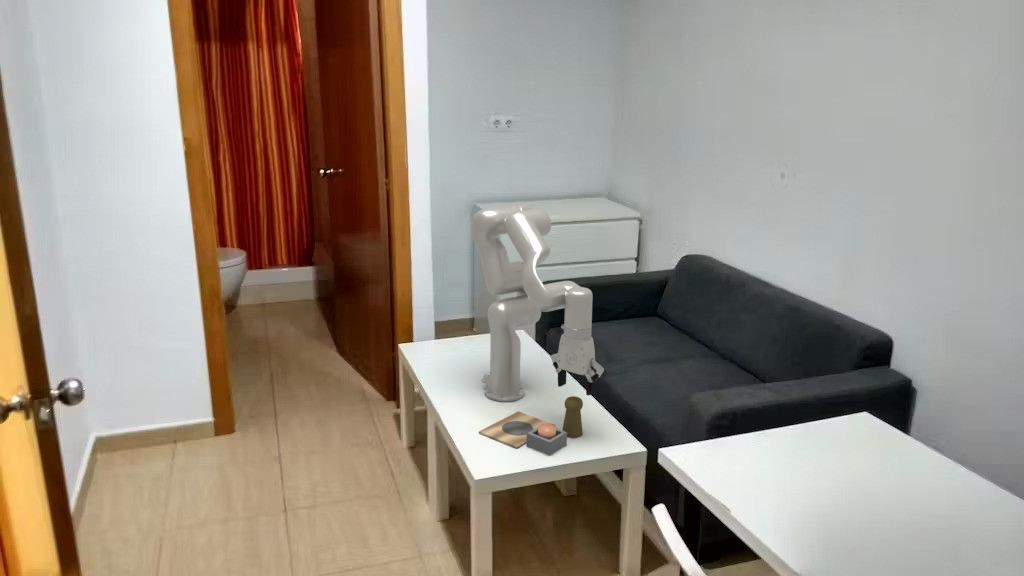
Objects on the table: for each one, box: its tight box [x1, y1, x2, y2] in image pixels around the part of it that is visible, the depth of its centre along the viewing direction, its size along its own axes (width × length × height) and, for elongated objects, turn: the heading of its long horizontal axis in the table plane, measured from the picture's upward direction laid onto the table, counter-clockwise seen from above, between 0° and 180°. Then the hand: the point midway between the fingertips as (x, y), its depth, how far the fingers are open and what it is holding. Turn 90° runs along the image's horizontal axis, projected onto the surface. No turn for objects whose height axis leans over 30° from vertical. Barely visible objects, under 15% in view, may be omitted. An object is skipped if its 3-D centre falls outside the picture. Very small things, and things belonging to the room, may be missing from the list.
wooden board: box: [478, 410, 556, 450], centre depth 226 cm, size 14×18×1 cm
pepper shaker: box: [561, 395, 584, 439], centre depth 224 cm, size 6×6×11 cm
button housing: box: [525, 427, 568, 456], centre depth 217 cm, size 8×8×4 cm
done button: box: [538, 423, 557, 440], centre depth 217 cm, size 5×5×3 cm
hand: (575, 389), depth 221 cm, fingers open, 9 cm apart
